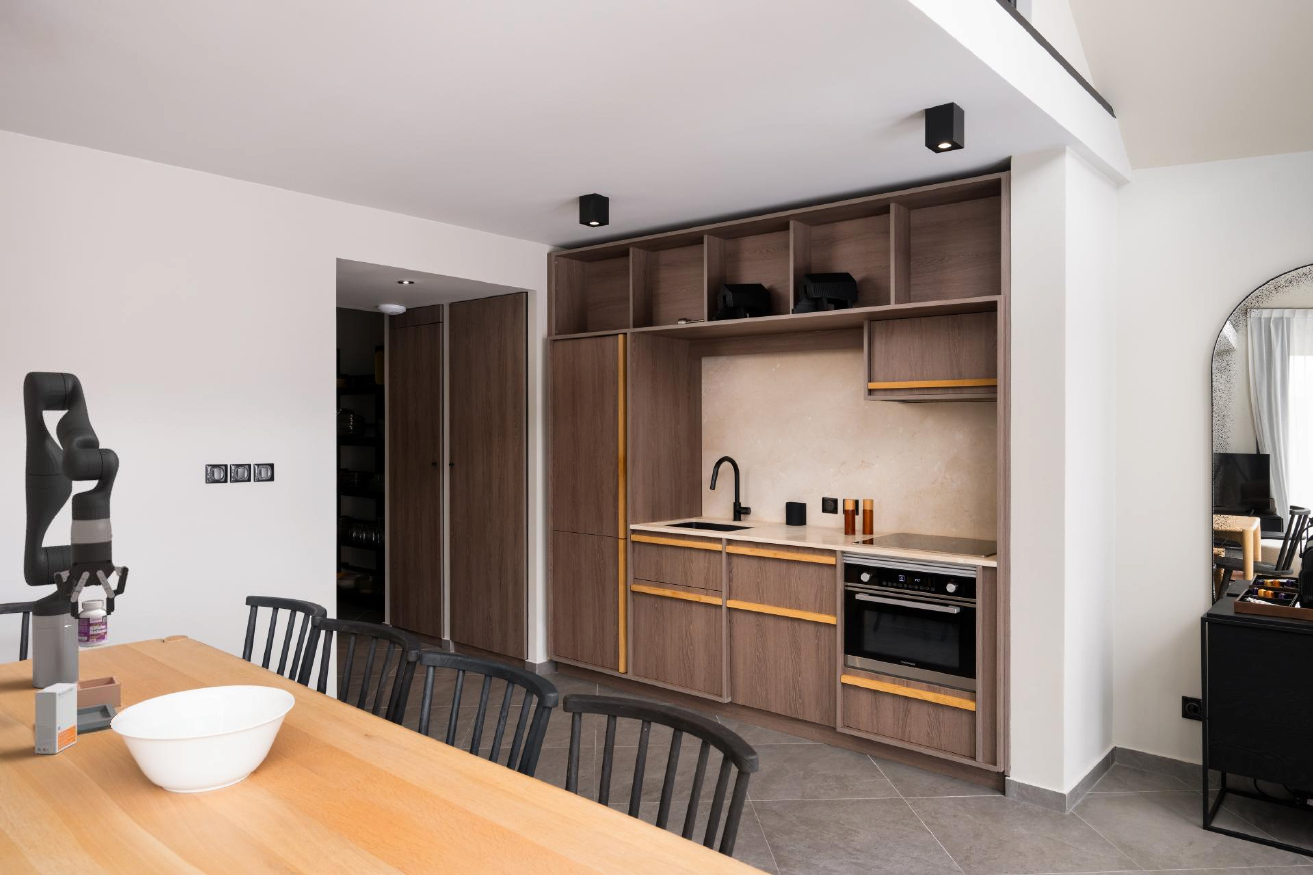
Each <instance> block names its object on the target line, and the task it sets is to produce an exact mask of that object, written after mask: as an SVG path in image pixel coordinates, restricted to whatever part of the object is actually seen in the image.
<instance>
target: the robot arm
mask: <svg viewBox="0 0 1313 875" xmlns="http://www.w3.org/2000/svg"><path fill="white" fill-rule="evenodd" d="M22 389H23V393H22V394H23V397H22V398H23V409H24V410H23V411H24V420H25V421H24V423H25V436H26V438H25V441H26V442H25V444H26V446H25V448H26V449H25V472H24V474H25V476H24V478H25V481H24V482H25V486H24V487H25V490H24V491H25V509H26V510H25V511H26V522H25V523H26V524H25V540H24V552H23V555H24V556H23V577H24V581H25V583H26V585H27V586H30V587H40V586H42V587H43V586H50V585H51V586H52V585H55V586H56V589H57V590H55V591H54V592H52V593H50V594H48V595H46V596H44V597H42V598H39V599H36V600H35V601H34V602H33V603H32V605H31V639H32V640H31V645H32V650H31V651H32V652H31V653H32V656H31V658H32V686H33V687H34V688H40V689H41V688H42V689H45V688H47V687H49V686H52V685H55V684H57V683H72V684H74V682H75V681H79V679H80V666H79V665H80V658H79V657H80V654H79V653H80V648H79V647H80V646H79V645H78V619H79V613H80V612H79V611H80V609H79V596H80V594H81V593H82V591H83V589H84V588H89V587H92V586H96V587H98V586H99V587H102V589H103V590H104V592H105V594H106V598H105V601H106V602H105V610H106V611H107V616H111V615H112V613H114V612H115V610H116V609H115V599H116V597H117V596H120V595H123V594H124V593H125V589H126V586H127V585H126V584H127V580H128V575H129V571H130V570H129V568H128V567H127V566H126V565H123V566H116V565H115V564H114V563H113V546H112V545H113V540H112V539H113V533H112V532H113V531H112V530H113V529H112V528H113V527H112V522H111V496H112V491H113V487H114V484H115V480H116V477H117V474H118V471H119V468H120V459H119V457H118V454H117V453H116V452H115V451H114V450H113V449H112V448H106V447H105V448H103V447H102V448H100V446H101V445H100V441H99V438H98V436H97V434H96V432H95V430H94V427H93V426H92V423H91V420H90V417H89V412H88V406H87V403H86V398H85V393H84V389H83V386H82V383H81V381H80V379H79V378H78V376H77V375H75V374H74V373H70V372H56V371H31V372H28V373H26V375H25V376H24V380H23V388H22ZM44 411H45V412H49V411H50V412H51V411H53V412H58V411H59V412H61V411H63V412H65V411H66V412H65V413H64V414H63V415H62V416H61V418H59V420H58V422H57V424H56V428H55V434H56V438H57V440H58V443H59V444H58V443H57V442H56V440H55V439H54V437H53V436H52V434H51V433H50V431H49V429H48V427H47V425H46V423H45V418H44ZM86 481H87V482H90V481H91V482H92V481H93V482H94V481H97V483H96V485H95V486H93V488H92V489H89V490H84V491H81V492H77V493H75V494H74V495H72V493H73V482H86ZM71 496H72V498H71V525H70V544H62V545H52V546H51V545H50V546H43V541H44V538H45V535H46V532H47V531H48V529H49V527H50V525H51V524H52V522H53V520H54V519H55V518H56V516H57V515H58V514H59V513H60V512H61V510H62V508H63V507H64V506H65V505H66V503H67V502H68V500H69V499H70V497H71ZM114 572H115V573H116V576H117V577H118V580H117V585H116V589H113V588H112V587H111V586H112V585H110V582H109V580H108V579H110V577H111V576H112V574H113V573H114Z"/></svg>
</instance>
